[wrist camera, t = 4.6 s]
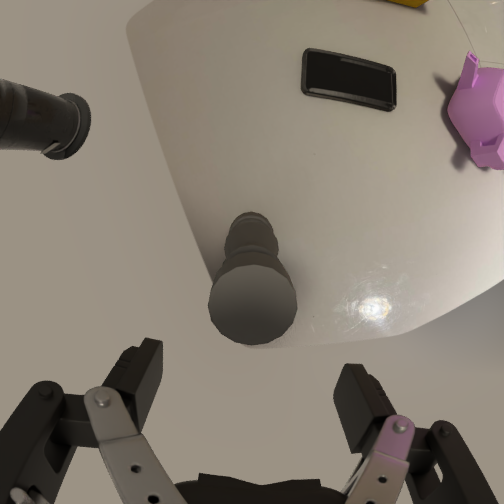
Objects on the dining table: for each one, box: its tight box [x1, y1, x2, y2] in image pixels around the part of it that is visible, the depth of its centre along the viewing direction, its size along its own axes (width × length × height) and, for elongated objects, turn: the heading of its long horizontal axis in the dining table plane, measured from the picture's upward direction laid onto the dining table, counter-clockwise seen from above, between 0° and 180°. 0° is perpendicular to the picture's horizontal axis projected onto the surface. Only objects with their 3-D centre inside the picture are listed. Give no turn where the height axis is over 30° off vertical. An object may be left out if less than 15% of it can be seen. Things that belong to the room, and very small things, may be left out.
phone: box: [301, 48, 396, 111], centre depth 36 cm, size 8×1×15 cm
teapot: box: [447, 51, 504, 170], centre depth 30 cm, size 19×18×15 cm
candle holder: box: [208, 212, 297, 345], centre depth 30 cm, size 6×6×25 cm
